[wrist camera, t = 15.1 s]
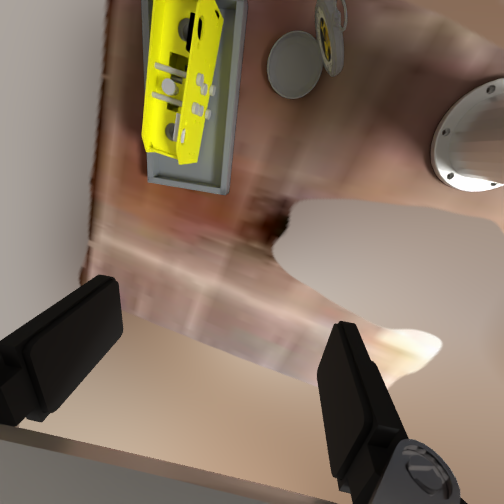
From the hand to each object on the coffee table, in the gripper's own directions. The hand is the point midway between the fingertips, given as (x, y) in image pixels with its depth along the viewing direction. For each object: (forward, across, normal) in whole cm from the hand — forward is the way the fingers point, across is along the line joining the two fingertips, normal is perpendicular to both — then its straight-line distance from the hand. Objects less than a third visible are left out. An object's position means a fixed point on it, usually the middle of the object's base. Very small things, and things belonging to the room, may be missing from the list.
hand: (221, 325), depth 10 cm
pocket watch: (+28, -2, -17) cm, 33 cm away
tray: (+28, +12, -11) cm, 32 cm away
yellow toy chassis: (+28, +12, -12) cm, 33 cm away
